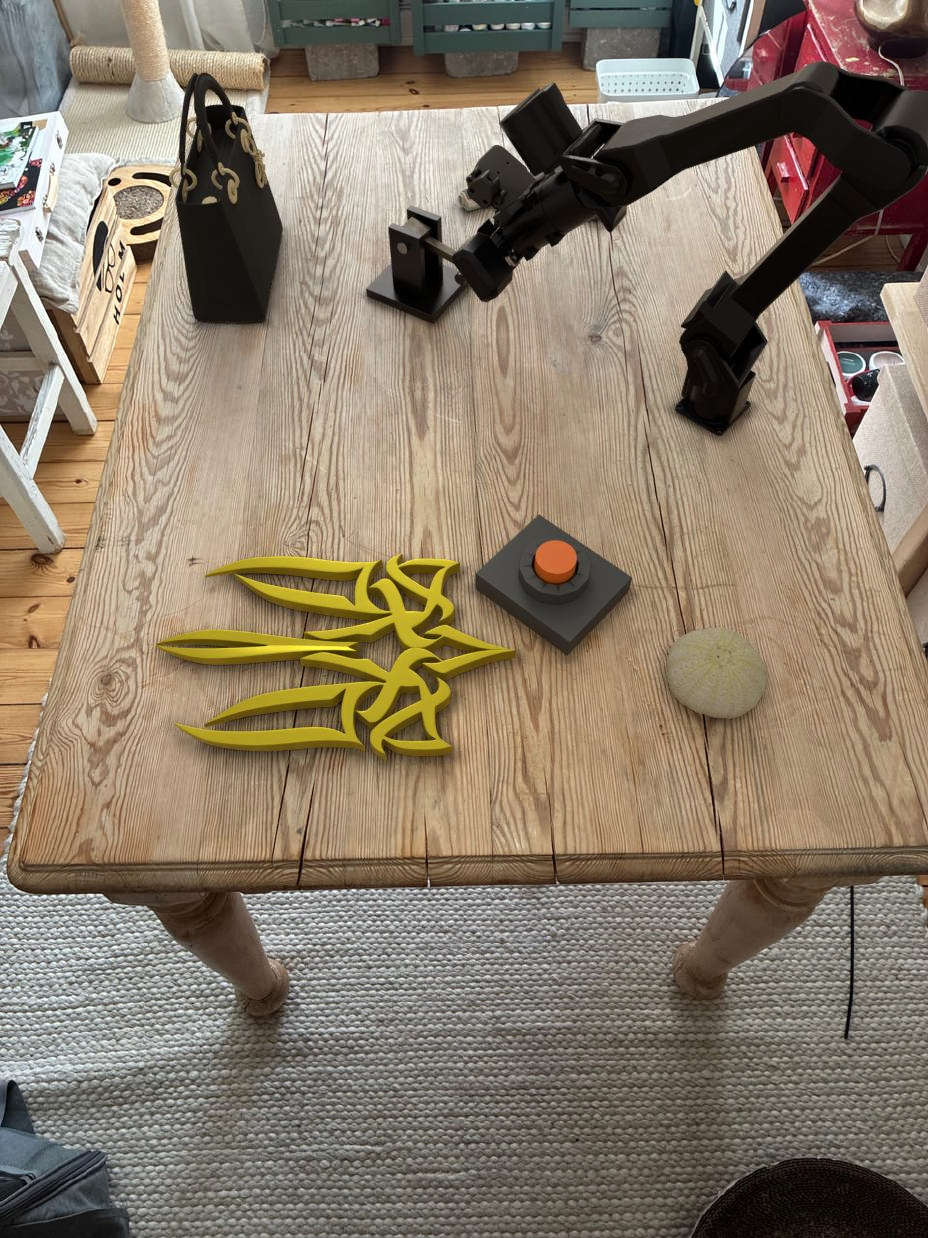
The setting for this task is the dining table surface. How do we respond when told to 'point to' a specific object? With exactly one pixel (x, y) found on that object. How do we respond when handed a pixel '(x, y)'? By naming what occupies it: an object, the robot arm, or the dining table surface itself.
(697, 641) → the sea urchin shell
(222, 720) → the trident
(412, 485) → the dining table surface
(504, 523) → the dining table surface
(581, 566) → the button box
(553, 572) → the button
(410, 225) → the lever
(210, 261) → the handbag
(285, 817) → the dining table surface
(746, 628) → the dining table surface
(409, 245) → the bracket
